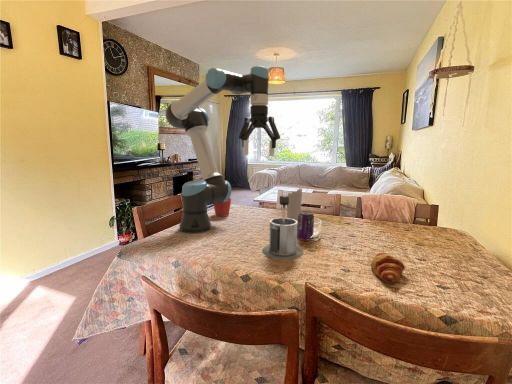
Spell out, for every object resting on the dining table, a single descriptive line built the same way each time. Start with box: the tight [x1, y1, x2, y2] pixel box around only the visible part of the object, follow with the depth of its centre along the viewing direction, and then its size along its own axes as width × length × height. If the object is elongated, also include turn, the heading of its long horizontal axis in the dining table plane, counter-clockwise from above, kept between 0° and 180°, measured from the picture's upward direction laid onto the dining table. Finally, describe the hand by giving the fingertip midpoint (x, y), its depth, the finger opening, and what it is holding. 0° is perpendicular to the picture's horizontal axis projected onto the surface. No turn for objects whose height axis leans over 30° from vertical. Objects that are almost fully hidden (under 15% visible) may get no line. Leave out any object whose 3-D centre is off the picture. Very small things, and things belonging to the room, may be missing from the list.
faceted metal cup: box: [269, 217, 298, 257], centre depth 107 cm, size 11×13×12 cm
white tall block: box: [286, 187, 303, 226], centre depth 147 cm, size 7×14×20 cm, turn 54°
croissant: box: [370, 252, 406, 284], centre depth 94 cm, size 21×10×8 cm, turn 162°
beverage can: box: [297, 210, 315, 241], centre depth 126 cm, size 7×7×12 cm
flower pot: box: [213, 197, 232, 217], centre depth 164 cm, size 11×11×10 cm
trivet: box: [261, 245, 304, 261], centre depth 109 cm, size 16×16×1 cm
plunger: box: [278, 195, 289, 225], centre depth 107 cm, size 8×8×19 cm
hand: (258, 155), depth 124 cm, fingers open, 13 cm apart
